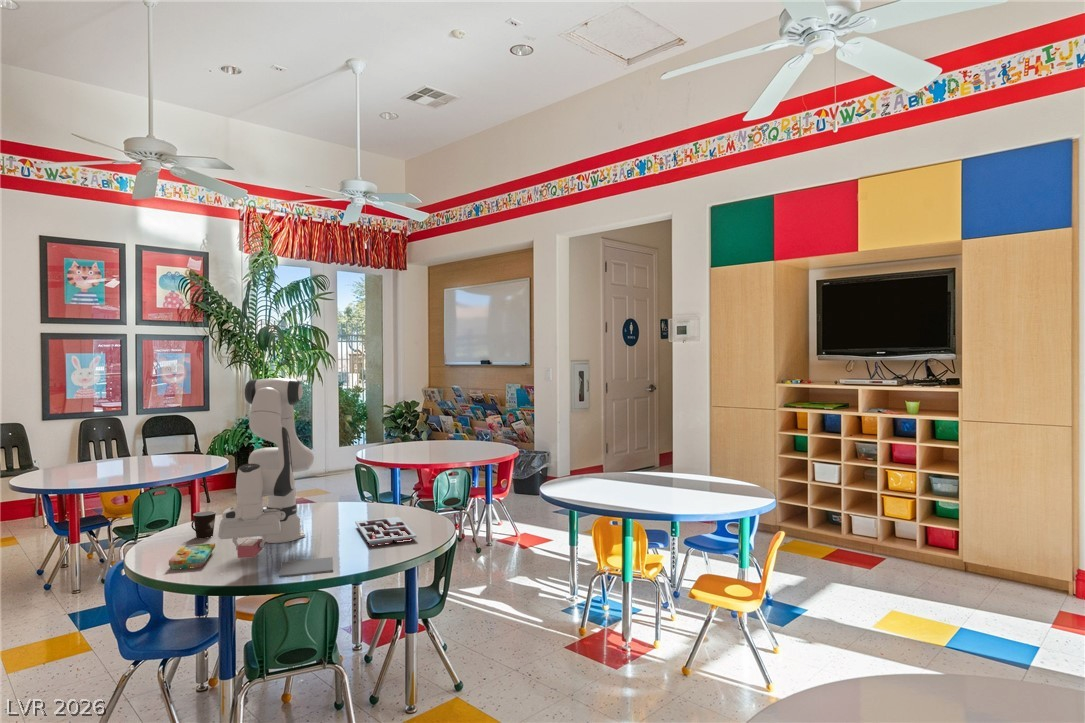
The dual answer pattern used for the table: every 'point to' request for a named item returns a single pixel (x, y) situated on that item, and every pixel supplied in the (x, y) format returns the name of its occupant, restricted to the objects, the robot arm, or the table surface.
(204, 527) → the coffee mug
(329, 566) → the mat
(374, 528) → the maze game
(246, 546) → the card deck
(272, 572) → the table surface
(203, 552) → the puzzle game
